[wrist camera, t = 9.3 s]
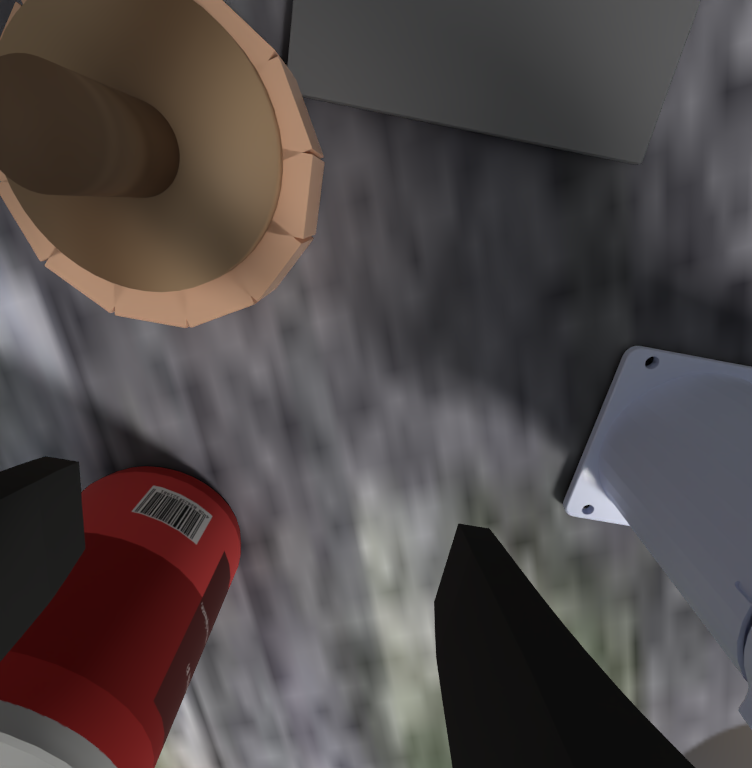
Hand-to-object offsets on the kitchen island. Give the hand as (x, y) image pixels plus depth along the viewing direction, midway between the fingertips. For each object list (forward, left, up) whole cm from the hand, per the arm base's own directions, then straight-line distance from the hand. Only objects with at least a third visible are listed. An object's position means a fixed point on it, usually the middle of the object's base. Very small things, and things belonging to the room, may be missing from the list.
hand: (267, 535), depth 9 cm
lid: (+6, -6, -7) cm, 11 cm away
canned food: (+7, +10, -11) cm, 16 cm away
